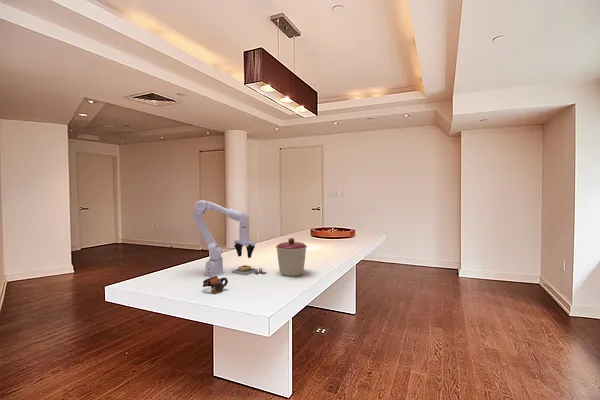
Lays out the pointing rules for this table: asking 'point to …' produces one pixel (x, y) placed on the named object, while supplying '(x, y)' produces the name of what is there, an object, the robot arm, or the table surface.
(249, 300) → the table surface
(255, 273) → the steel stake
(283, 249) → the canister
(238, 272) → the slate tray
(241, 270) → the brass ring
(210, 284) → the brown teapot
